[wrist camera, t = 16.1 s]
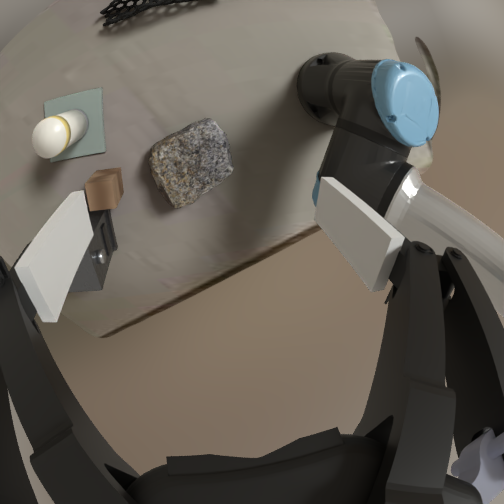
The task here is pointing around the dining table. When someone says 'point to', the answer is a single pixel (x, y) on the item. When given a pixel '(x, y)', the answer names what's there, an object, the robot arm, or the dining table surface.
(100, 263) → the box
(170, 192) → the rock
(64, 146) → the cartridge
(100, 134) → the mat
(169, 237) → the dining table surface
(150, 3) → the decorative element
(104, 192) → the walnut block
